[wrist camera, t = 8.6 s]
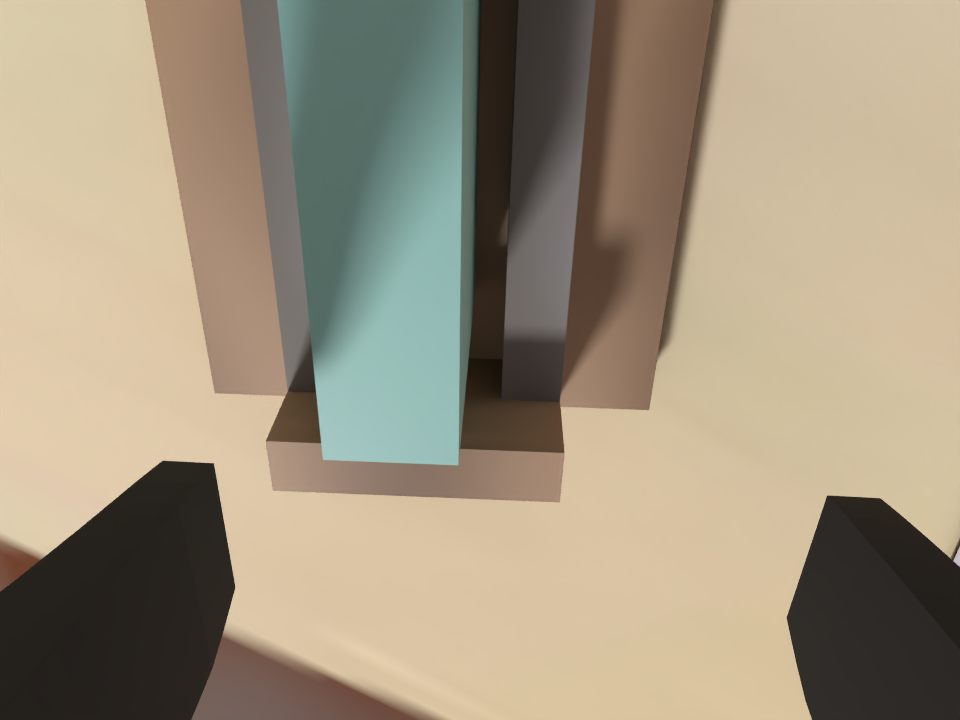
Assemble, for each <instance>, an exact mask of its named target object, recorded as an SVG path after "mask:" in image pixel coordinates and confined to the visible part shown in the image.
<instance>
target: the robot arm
mask: <svg viewBox="0 0 960 720" xmlns="http://www.w3.org/2000/svg"><path fill="white" fill-rule="evenodd" d="M234 590H235V583H234V577H233V572H232V566H231V560H230V554H229V548H228V543H227V537H226V531H225V525H224V520H223V514H222V508H221V502H220V497H219V491H218V485H217V479H216V474H215V468H214V463H195V462H176V461H162V462H161V463H159V464H158V465H157V466H156V467H154V468H153V469H152V470H150V471H149V472H148V473H147V474H145V475H144V476H143V477H142V478H140V479H139V480H138V481H137V482H136V483H134V484H133V485H132V486H131V487H129V488H128V489H127V490H126V491H125V492H123V493H122V494H121V495H120V496H119V497H117V498H116V499H115V500H114V501H113V502H111V503H110V504H109V505H108V506H107V507H105V508H104V509H103V510H102V511H101V512H99V513H98V514H97V515H96V516H94V517H93V518H92V519H91V520H90V521H88V522H87V523H86V524H85V525H84V526H82V527H81V528H80V529H79V530H78V531H76V532H75V533H74V534H73V535H71V536H70V537H69V538H68V539H66V540H65V541H64V542H63V543H61V544H60V545H59V546H58V547H56V548H55V549H54V550H53V551H51V552H50V553H49V554H48V555H46V556H45V557H44V558H43V559H41V560H40V561H39V562H38V563H36V564H35V565H34V566H33V567H31V568H30V569H29V570H28V571H26V572H25V573H24V574H23V575H21V576H20V577H19V578H18V579H16V580H15V581H14V582H13V583H11V584H10V585H9V586H7V587H6V588H5V589H3V590H2V591H1V592H0V720H191V719H192V716H193V713H194V712H195V709H196V707H197V704H198V702H199V699H200V697H201V695H202V692H203V690H204V687H205V685H206V682H207V680H208V678H209V675H210V672H211V670H212V667H213V664H214V661H215V658H216V654H217V651H218V647H219V644H220V641H221V637H222V634H223V631H224V627H225V623H226V620H227V616H228V612H229V609H230V605H231V601H232V597H233V594H234ZM787 621H788V626H789V631H790V635H791V640H792V645H793V649H794V654H795V658H796V663H797V667H798V671H799V675H800V679H801V684H802V688H803V692H804V696H805V700H806V703H807V706H808V709H809V712H810V715H811V717H812V720H960V547H959V550H958V552H957V554H956V556H955V559H954V561H953V560H951V559H950V558H949V557H948V556H947V555H946V554H945V553H944V552H942V551H941V550H940V549H939V548H938V547H937V546H936V545H935V544H933V543H932V542H931V541H930V540H929V539H928V538H927V537H925V536H924V535H923V534H922V533H921V532H920V531H919V530H917V529H916V528H915V527H914V526H913V525H912V524H911V523H909V522H908V521H907V520H906V519H905V518H904V517H902V516H901V515H900V514H899V513H898V512H896V511H895V510H894V509H893V508H892V507H890V506H889V505H888V504H887V503H885V502H884V501H883V500H882V499H880V498H863V497H844V496H827V498H826V501H825V504H824V507H823V510H822V513H821V516H820V519H819V522H818V525H817V528H816V531H815V534H814V537H813V540H812V543H811V546H810V549H809V552H808V555H807V558H806V561H805V564H804V567H803V570H802V573H801V576H800V579H799V582H798V585H797V588H796V591H795V594H794V597H793V600H792V603H791V606H790V609H789V612H788V615H787Z"/></svg>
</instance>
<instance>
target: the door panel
mask: <svg viewBox="0 0 960 720" xmlns="http://www.w3.org/2000/svg"><path fill="white" fill-rule="evenodd" d="M277 4H278V14H279V24H280V34H281V44H282V54H283V64H284V74H285V84H286V94H287V105H288V115H289V125H290V135H291V145H292V155H293V165H294V175H295V185H296V195H297V205H298V215H299V225H300V235H301V245H302V255H303V265H304V275H305V285H306V295H307V305H308V315H309V325H310V335H311V345H312V355H313V365H314V375H315V385H316V395H317V405H318V416H319V426H320V436H321V446H322V456H323V460H337V461H362V462H387V463H412V464H437V465H459V455H460V444H461V433H462V423H463V412H464V402H465V391H466V380H467V370H468V359H469V348H470V338H471V327H472V317H473V306H474V295H475V279H476V231H477V183H478V136H479V88H480V41H481V0H277Z"/></svg>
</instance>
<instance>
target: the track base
mask: <svg viewBox="0 0 960 720" xmlns="http://www.w3.org/2000/svg"><path fill="white" fill-rule="evenodd" d="M145 2H146V7H147V13H148V19H149V24H150V30H151V35H152V41H153V47H154V52H155V58H156V64H157V69H158V75H159V81H160V86H161V92H162V98H163V103H164V109H165V114H166V120H167V126H168V131H169V137H170V143H171V148H172V154H173V160H174V165H175V171H176V176H177V182H178V188H179V193H180V199H181V205H182V210H183V216H184V222H185V227H186V233H187V238H188V244H189V250H190V255H191V261H192V267H193V272H194V278H195V284H196V289H197V295H198V300H199V306H200V312H201V317H202V323H203V329H204V334H205V340H206V346H207V351H208V357H209V363H210V368H211V374H212V379H213V385H214V391H215V393H224V394H250V395H275V396H285V399H284V401H283V403H282V406H281V408H280V410H279V412H278V415H277V417H276V419H275V421H274V424H273V426H272V428H271V431H270V433H269V435H268V437H267V440H266V446H267V453H268V460H269V467H270V474H271V481H272V487H273V491H297V492H321V493H345V494H370V495H394V496H418V497H443V498H467V499H491V500H516V501H540V502H560V494H561V483H562V473H563V462H564V443H563V431H562V420H561V408H560V407H585V408H610V409H636V410H649V407H650V400H651V394H652V388H653V381H654V375H655V369H656V362H657V356H658V350H659V344H660V337H661V331H662V325H663V318H664V312H665V306H666V299H667V293H668V287H669V281H670V274H671V268H672V262H673V255H674V249H675V243H676V236H677V230H678V224H679V218H680V211H681V205H682V199H683V192H684V186H685V180H686V173H687V167H688V161H689V155H690V148H691V142H692V136H693V129H694V123H695V117H696V110H697V104H698V98H699V92H700V85H701V79H702V73H703V66H704V60H705V54H706V47H707V41H708V35H709V29H710V22H711V16H712V10H713V3H714V0H481V41H480V88H479V136H478V183H477V231H476V279H475V295H474V306H473V317H472V327H471V338H470V348H469V359H468V370H467V380H466V391H465V402H464V412H463V423H462V433H461V444H460V455H459V465H437V464H412V463H387V462H362V461H337V460H323V456H322V446H321V436H320V426H319V416H318V405H317V395H316V385H315V375H314V365H313V355H312V345H311V335H310V325H309V315H308V305H307V295H306V285H305V275H304V265H303V255H302V245H301V235H300V225H299V215H298V205H297V195H296V185H295V175H294V165H293V155H292V145H291V135H290V125H289V115H288V105H287V94H286V84H285V74H284V64H283V54H282V44H281V34H280V24H279V14H278V4H277V0H145Z"/></svg>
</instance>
